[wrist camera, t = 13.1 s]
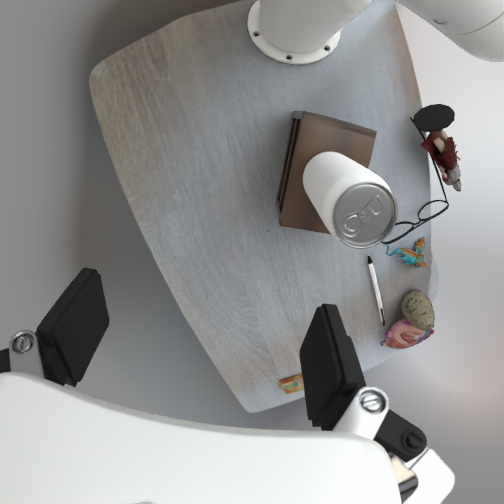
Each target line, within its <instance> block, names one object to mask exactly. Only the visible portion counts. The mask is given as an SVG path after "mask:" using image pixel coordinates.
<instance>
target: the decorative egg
mask: <svg viewBox="0 0 504 504" xmlns="http://www.w3.org/2000/svg"><path fill="white" fill-rule="evenodd" d="M402 311H403V314H404V316H405V317H406V319H407V320H408V321H409V322H410V323H411V324H412V325H413V326H414V327H416V328H417V329H419V330H422V331H429V330H431V329H432V327H433V325H434V320H435V318H434V311H433V307H432V304H431V302H430V300H429V298H428V297H427V296H426V294H424V293H423V292H421V291H419V290H412V291H409V292H408V293H407V294H406V295H405V296H404V298H403V300H402Z"/></svg>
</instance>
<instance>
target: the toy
mask: <svg viewBox="0 0 504 504" xmlns="http://www.w3.org/2000/svg"><path fill="white" fill-rule="evenodd" d="M279 384H280V386H281V388H282V389H283V390H284V391H285V393H286V394H289V393H292V392H296V391H300V390H303V389H304V384H303V376H302V374H300V375H297V376H294V377H290V378H287V379H283V380H280V381H279Z"/></svg>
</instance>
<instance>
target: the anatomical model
mask: <svg viewBox="0 0 504 504" xmlns="http://www.w3.org/2000/svg"><path fill="white" fill-rule="evenodd" d="M433 327H434V325H433ZM433 327H432V328H433ZM433 333H434V330H432V329H431V330H429V331H422V330H419V329H417V328H416V327H414V326H413V325H412V324H411V323H410V322H409V321H408V320H407V319H406V318H405V319H402V320H400V321H398V322H396V323H395V324H394V325H393V326H392V327H391V328H390V330H389V331H387V333H386V335H385V336H386V340H384V341H382V342H381V345H382V346H388V347H391V348H395V349H404V348H408V347H411V346H413V345H415V344H418V343H420V342H422V341H423V340H425V339H427V338H428V337H429V336H430V335H431V334H433Z"/></svg>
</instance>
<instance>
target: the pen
mask: <svg viewBox="0 0 504 504" xmlns="http://www.w3.org/2000/svg"><path fill="white" fill-rule="evenodd" d="M368 265H369V269H370V273H371V277H372V281H373V286H374V290H375V294H376V299H377V303H378V308H379V313H380V318H381V322H382V323H383V326H385V317H384V311H383V306H382V301H381V296H380V292H379V287H378V282H377V278H376V274H375V270H374V265H373V261H372V260H371V258H370V256H369V255H368Z"/></svg>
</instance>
